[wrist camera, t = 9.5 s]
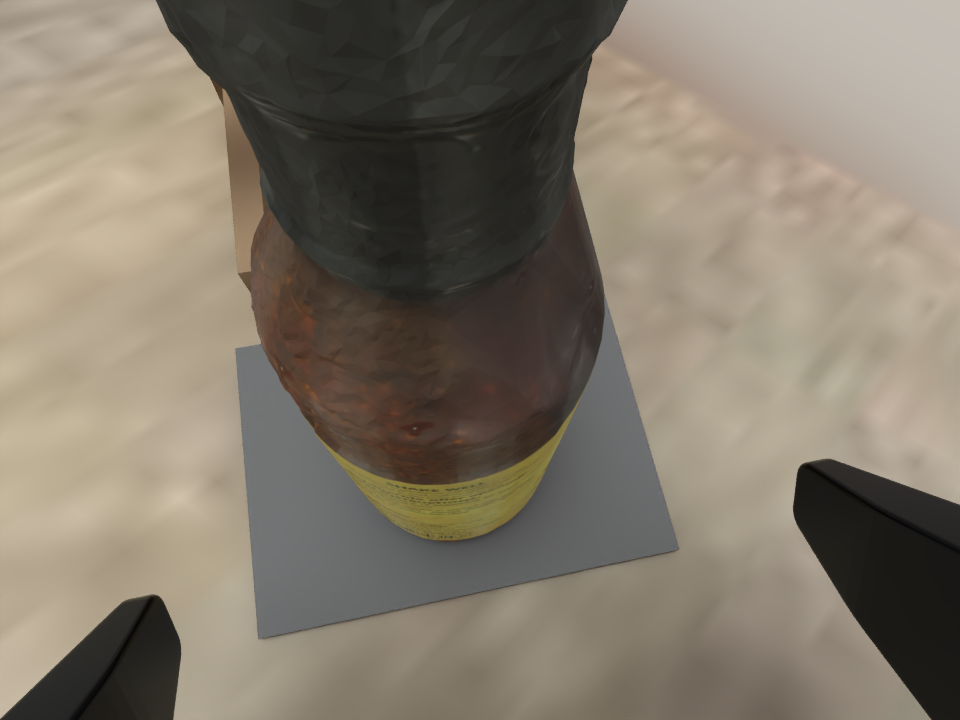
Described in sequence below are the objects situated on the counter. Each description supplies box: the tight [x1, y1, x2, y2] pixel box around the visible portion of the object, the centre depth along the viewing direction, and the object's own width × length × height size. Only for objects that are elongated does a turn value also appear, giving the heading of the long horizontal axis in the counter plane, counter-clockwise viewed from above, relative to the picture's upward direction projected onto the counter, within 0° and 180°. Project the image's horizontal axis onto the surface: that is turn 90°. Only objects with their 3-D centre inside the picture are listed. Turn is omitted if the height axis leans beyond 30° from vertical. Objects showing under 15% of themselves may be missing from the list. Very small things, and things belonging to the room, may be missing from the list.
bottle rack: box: [210, 78, 267, 292], centre depth 23 cm, size 10×12×9 cm
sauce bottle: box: [156, 0, 628, 542], centre depth 14 cm, size 7×6×20 cm
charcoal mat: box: [236, 294, 679, 639], centre depth 23 cm, size 10×14×1 cm
